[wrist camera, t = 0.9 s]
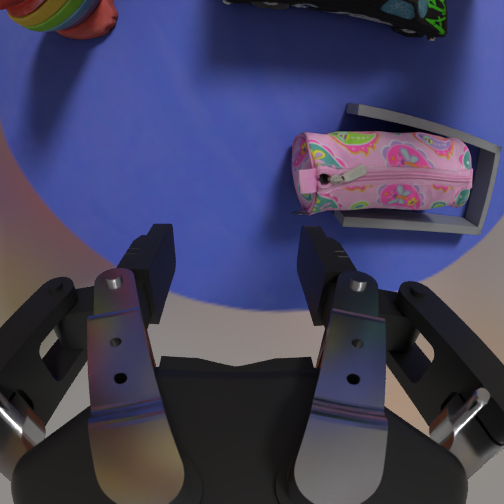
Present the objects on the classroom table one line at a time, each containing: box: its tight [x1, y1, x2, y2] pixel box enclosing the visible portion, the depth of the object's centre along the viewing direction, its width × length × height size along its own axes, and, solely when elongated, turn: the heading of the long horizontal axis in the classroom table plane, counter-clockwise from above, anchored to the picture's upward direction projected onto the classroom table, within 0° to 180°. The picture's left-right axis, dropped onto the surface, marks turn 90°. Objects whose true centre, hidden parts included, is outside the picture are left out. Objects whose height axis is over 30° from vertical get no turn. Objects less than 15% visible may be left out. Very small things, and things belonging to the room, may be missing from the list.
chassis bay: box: [334, 103, 501, 235], centre depth 31 cm, size 14×24×4 cm, turn 88°
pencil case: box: [292, 131, 473, 215], centre depth 28 cm, size 21×9×9 cm, turn 94°
